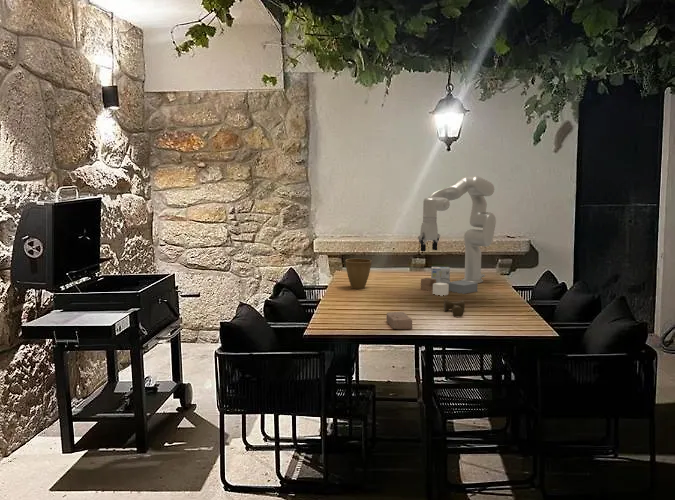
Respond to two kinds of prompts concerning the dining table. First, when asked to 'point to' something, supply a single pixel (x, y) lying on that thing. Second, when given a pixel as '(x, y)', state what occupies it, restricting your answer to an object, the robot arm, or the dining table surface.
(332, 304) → the dining table surface
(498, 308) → the dining table surface
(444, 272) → the light bulb box
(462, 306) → the kendama
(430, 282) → the walnut cube
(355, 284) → the plant pot
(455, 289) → the base block
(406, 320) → the brick
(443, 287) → the off-white cube
